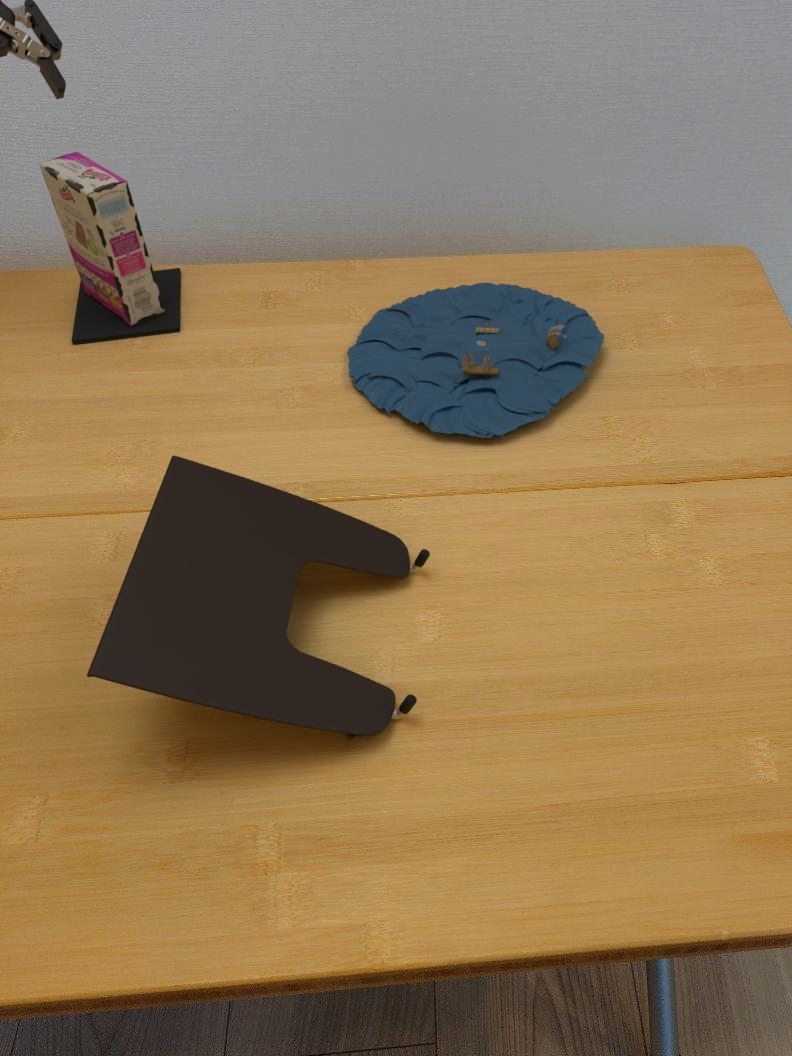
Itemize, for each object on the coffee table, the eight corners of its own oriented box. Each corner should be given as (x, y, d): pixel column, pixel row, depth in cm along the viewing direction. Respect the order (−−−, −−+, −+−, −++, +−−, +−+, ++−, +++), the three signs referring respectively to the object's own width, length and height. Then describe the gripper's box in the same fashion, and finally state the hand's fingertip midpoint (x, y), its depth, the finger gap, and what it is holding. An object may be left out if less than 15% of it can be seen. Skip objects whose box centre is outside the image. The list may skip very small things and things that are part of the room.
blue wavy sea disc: (348, 464, 98) (338, 425, 94) (350, 304, 118) (343, 267, 115) (629, 435, 100) (631, 395, 96) (584, 282, 120) (584, 245, 117)
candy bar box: (169, 311, 114) (129, 179, 102) (131, 328, 111) (86, 194, 100) (120, 277, 119) (77, 148, 108) (83, 293, 117) (34, 161, 105)
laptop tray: (371, 796, 77) (413, 741, 71) (71, 727, 69) (91, 658, 63) (396, 583, 93) (433, 523, 87) (155, 507, 85) (178, 436, 79)
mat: (72, 344, 110) (71, 340, 110) (82, 283, 119) (80, 278, 119) (180, 331, 112) (178, 327, 112) (181, 271, 122) (179, 267, 121)
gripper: (-132, -43, 97) (-40, 104, 100) (6, -67, 105) (88, 71, 107) (-125, 1, 104) (-39, 139, 106) (4, -24, 111) (82, 105, 113)
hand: (24, 104), depth 107 cm, fingers open, 8 cm apart
